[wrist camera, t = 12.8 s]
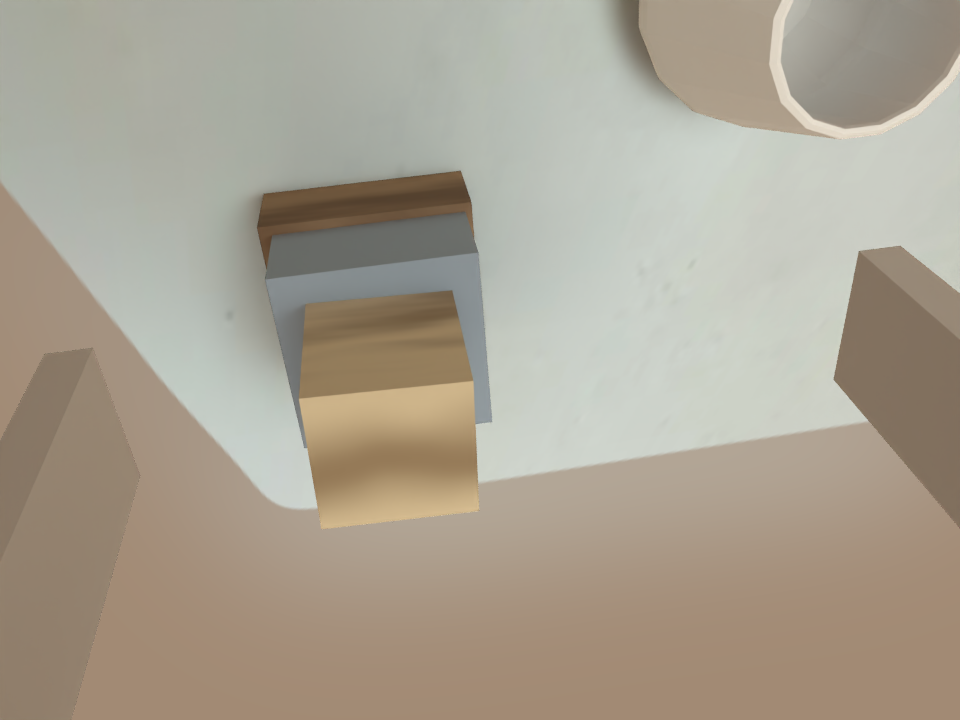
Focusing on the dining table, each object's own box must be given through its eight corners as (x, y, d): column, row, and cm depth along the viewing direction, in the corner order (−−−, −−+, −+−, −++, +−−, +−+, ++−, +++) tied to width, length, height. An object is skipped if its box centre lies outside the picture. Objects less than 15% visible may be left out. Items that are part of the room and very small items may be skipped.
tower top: (272, 235, 45) (265, 279, 40) (465, 211, 45) (478, 252, 41) (307, 394, 50) (304, 448, 46) (479, 371, 51) (492, 421, 46)
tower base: (264, 191, 48) (257, 227, 44) (460, 168, 49) (471, 202, 45) (300, 357, 54) (296, 403, 50) (474, 335, 55) (485, 377, 51)
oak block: (305, 303, 41) (298, 398, 35) (452, 290, 42) (473, 380, 35) (324, 422, 45) (321, 529, 38) (458, 408, 46) (479, 510, 39)
